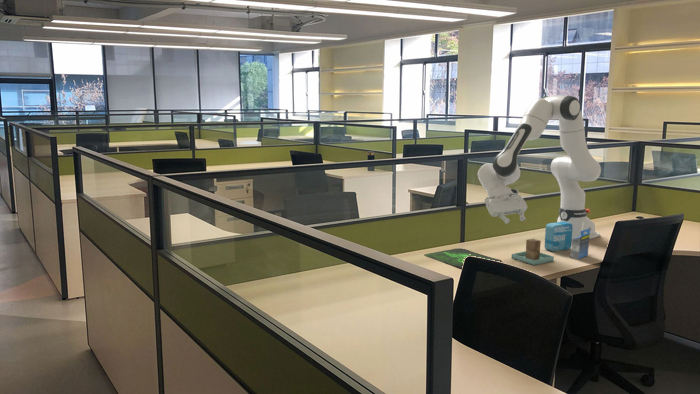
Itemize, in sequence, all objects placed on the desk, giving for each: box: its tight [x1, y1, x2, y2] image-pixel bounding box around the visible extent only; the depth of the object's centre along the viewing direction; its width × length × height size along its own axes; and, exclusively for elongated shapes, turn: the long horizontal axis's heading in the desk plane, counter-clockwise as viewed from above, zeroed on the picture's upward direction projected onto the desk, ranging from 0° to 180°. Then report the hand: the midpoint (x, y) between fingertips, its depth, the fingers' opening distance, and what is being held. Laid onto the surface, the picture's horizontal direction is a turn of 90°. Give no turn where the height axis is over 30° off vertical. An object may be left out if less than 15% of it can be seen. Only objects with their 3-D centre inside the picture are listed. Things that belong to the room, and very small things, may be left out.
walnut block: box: [525, 238, 542, 260], centre depth 239 cm, size 4×4×8 cm
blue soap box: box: [544, 221, 573, 253], centre depth 255 cm, size 12×4×12 cm, turn 116°
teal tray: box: [511, 250, 555, 266], centre depth 239 cm, size 12×12×2 cm
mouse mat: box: [423, 247, 503, 270], centre depth 242 cm, size 27×22×1 cm
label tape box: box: [570, 228, 590, 260], centre depth 243 cm, size 9×4×12 cm, turn 133°
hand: (515, 221), depth 246 cm, fingers open, 8 cm apart
